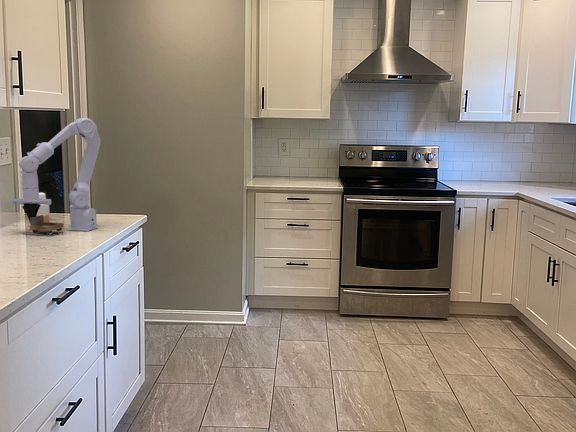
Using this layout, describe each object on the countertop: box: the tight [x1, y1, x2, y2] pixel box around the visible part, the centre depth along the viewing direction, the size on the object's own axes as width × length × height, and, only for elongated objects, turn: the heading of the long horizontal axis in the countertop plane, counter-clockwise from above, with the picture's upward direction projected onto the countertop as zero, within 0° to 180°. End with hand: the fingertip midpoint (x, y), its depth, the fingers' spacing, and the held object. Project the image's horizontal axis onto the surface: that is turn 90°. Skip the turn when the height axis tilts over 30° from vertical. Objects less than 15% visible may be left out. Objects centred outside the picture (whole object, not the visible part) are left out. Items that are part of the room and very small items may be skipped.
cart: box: [29, 215, 65, 235], centre depth 219 cm, size 9×8×6 cm
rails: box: [21, 230, 64, 237], centre depth 220 cm, size 13×7×1 cm, turn 78°
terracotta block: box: [37, 214, 50, 222], centre depth 232 cm, size 4×4×5 cm
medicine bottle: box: [32, 191, 51, 220], centre depth 248 cm, size 7×7×12 cm
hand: (32, 223), depth 220 cm, fingers closed
